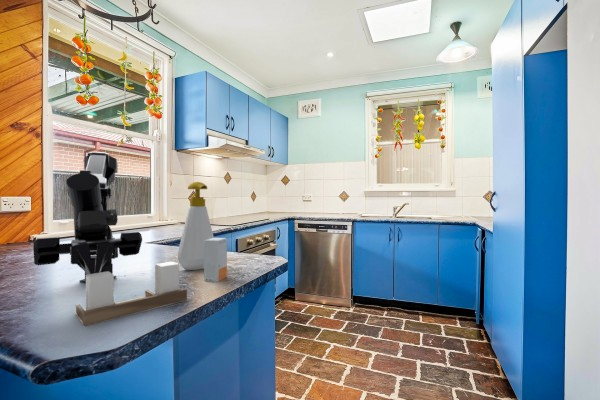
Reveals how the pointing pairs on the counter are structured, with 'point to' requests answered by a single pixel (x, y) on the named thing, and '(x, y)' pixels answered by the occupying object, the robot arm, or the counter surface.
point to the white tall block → (99, 290)
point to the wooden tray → (130, 306)
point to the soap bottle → (195, 231)
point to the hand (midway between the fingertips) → (95, 280)
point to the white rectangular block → (166, 277)
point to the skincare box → (215, 259)
